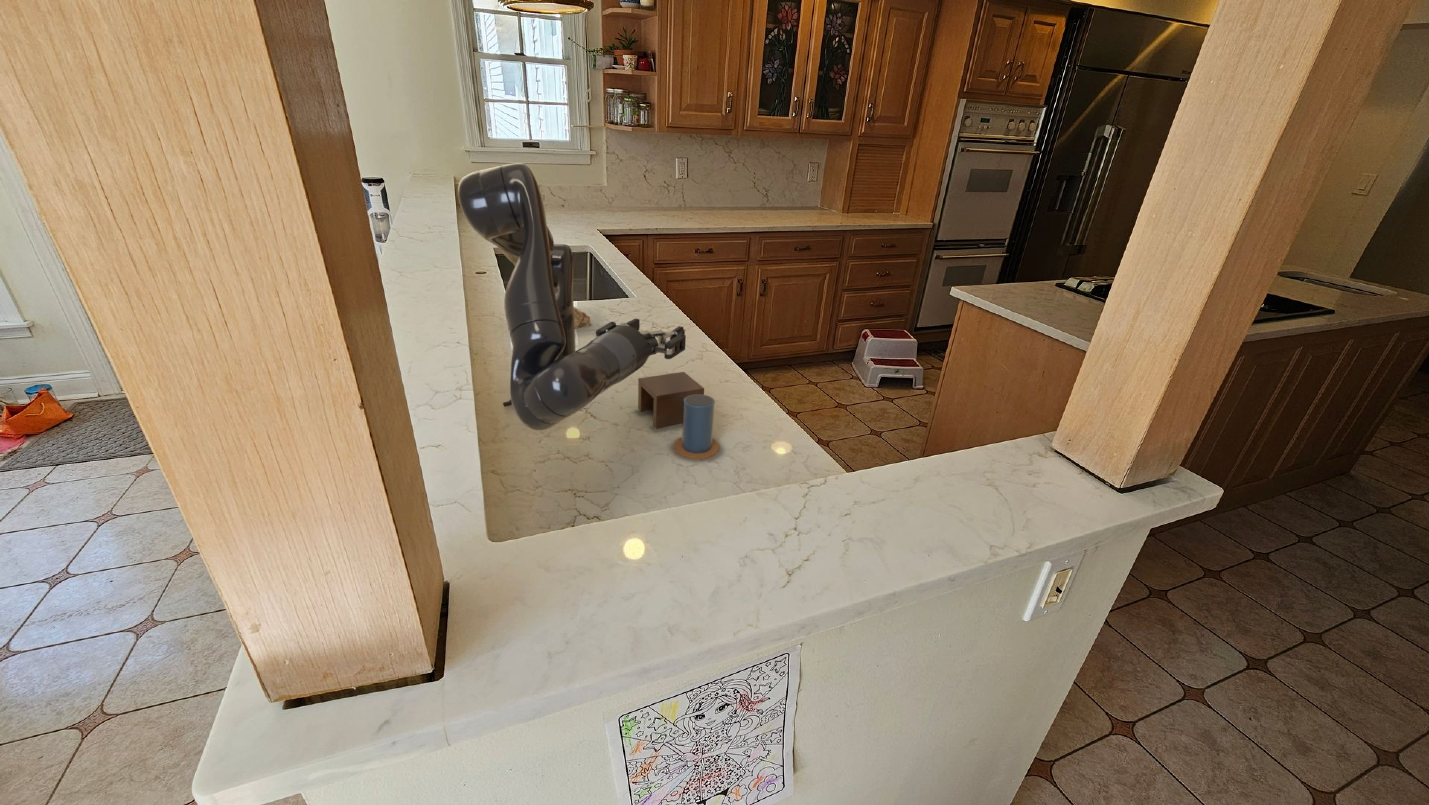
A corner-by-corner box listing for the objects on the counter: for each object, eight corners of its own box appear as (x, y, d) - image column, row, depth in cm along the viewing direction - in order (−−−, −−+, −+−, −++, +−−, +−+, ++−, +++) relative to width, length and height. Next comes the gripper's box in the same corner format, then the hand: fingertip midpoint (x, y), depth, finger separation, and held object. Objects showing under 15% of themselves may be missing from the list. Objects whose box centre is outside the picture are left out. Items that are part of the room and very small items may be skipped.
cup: (690, 455, 118) (692, 408, 114) (676, 441, 123) (678, 396, 118) (717, 449, 120) (720, 404, 116) (703, 436, 125) (705, 392, 121)
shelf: (656, 430, 128) (656, 396, 124) (638, 411, 136) (638, 378, 132) (702, 421, 133) (704, 388, 129) (682, 403, 141) (683, 371, 137)
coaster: (686, 463, 116) (686, 460, 116) (666, 442, 123) (666, 439, 123) (727, 454, 120) (727, 451, 120) (706, 434, 127) (706, 431, 127)
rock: (510, 348, 166) (501, 289, 167) (512, 360, 187) (504, 308, 187) (612, 337, 175) (603, 281, 175) (603, 350, 195) (595, 300, 196)
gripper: (656, 340, 90) (697, 313, 104) (572, 325, 94) (623, 301, 108) (655, 387, 93) (695, 354, 107) (574, 370, 97) (623, 341, 111)
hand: (659, 327), depth 107 cm, fingers open, 8 cm apart
